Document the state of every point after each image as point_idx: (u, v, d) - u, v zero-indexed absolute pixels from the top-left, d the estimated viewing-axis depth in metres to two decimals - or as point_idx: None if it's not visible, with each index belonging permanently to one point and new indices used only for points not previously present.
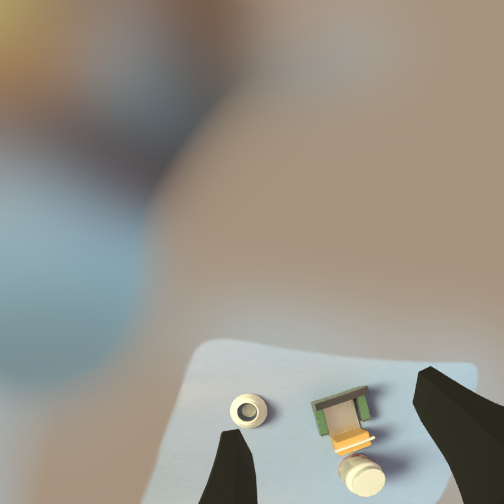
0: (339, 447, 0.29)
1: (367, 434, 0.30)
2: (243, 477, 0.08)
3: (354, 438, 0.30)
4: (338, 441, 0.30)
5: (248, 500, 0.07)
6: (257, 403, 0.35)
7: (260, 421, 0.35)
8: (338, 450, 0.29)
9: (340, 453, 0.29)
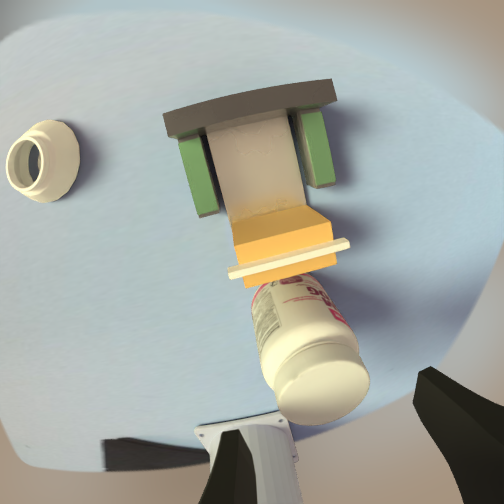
0: (242, 261, 0.12)
1: (328, 230, 0.12)
2: (243, 477, 0.08)
3: (288, 239, 0.12)
4: (240, 241, 0.13)
5: (248, 500, 0.07)
6: (47, 137, 0.12)
7: (60, 182, 0.14)
8: (238, 273, 0.12)
9: (246, 280, 0.13)
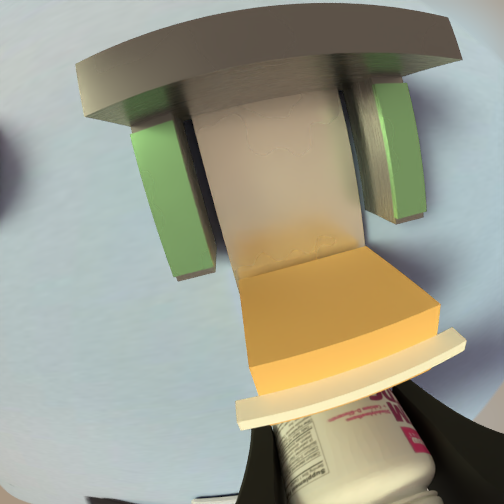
0: (266, 392, 0.05)
1: (433, 320, 0.05)
2: (277, 471, 0.08)
3: (363, 346, 0.05)
4: (262, 349, 0.06)
5: (282, 494, 0.07)
6: None
7: None
8: (257, 420, 0.05)
9: None
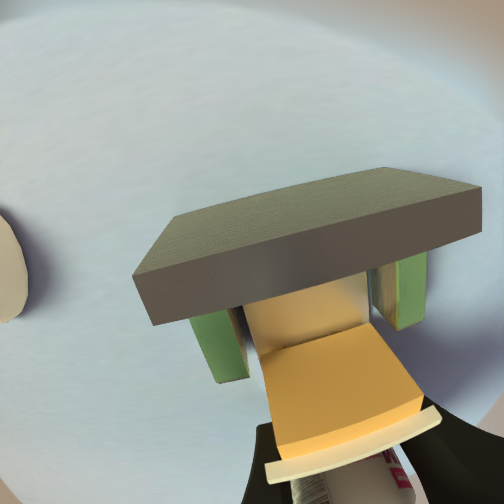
0: (288, 458, 0.07)
1: (417, 404, 0.06)
2: None
3: (361, 426, 0.06)
4: (285, 430, 0.07)
5: (287, 493, 0.07)
6: None
7: (6, 309, 0.08)
8: (282, 478, 0.06)
9: None
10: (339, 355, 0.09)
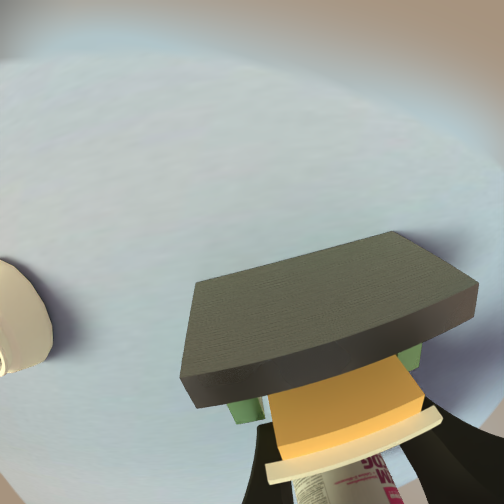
0: (288, 458, 0.07)
1: (417, 405, 0.06)
2: None
3: (363, 427, 0.06)
4: (286, 431, 0.07)
5: (288, 493, 0.07)
6: None
7: (33, 359, 0.09)
8: (282, 479, 0.06)
9: None
10: None
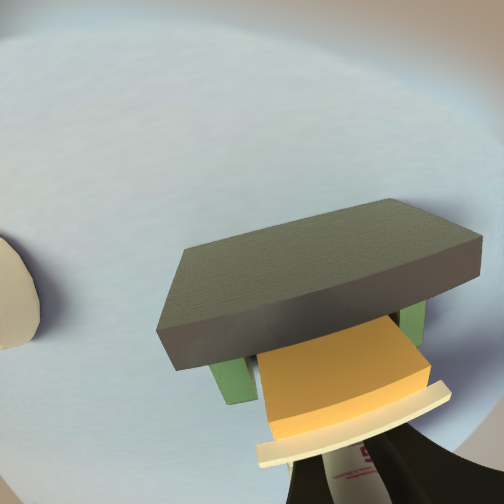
0: (281, 438, 0.06)
1: (423, 378, 0.06)
2: None
3: (363, 402, 0.06)
4: (278, 405, 0.06)
5: None
6: None
7: (19, 336, 0.08)
8: (274, 461, 0.06)
9: None
10: None
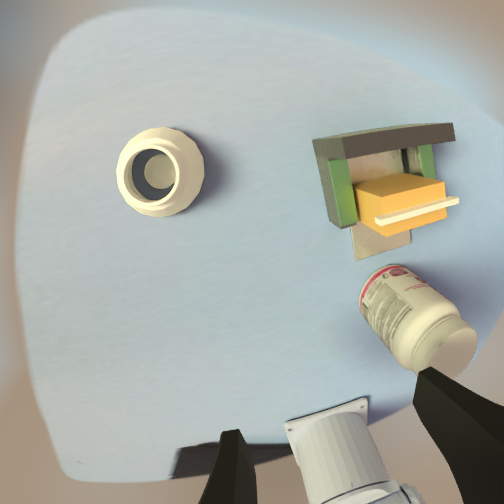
0: (386, 211, 0.13)
1: (442, 189, 0.13)
2: (243, 477, 0.08)
3: (418, 194, 0.13)
4: (381, 194, 0.13)
5: (248, 500, 0.07)
6: (176, 148, 0.14)
7: (187, 197, 0.15)
8: (387, 220, 0.13)
9: (386, 229, 0.13)
10: (394, 179, 0.15)
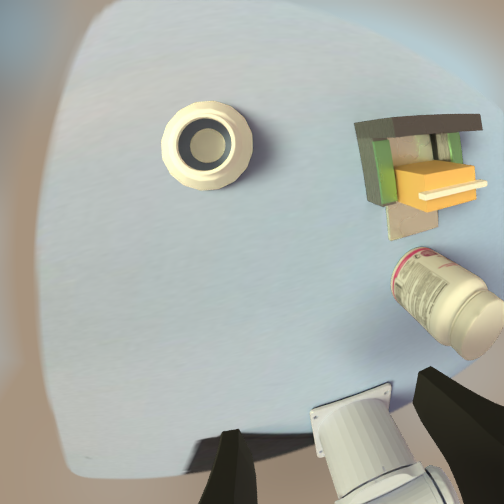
0: (428, 188, 0.13)
1: (473, 172, 0.13)
2: (243, 477, 0.08)
3: (454, 175, 0.13)
4: (423, 173, 0.13)
5: (248, 500, 0.07)
6: (230, 120, 0.14)
7: (237, 170, 0.15)
8: (430, 195, 0.13)
9: (427, 205, 0.13)
10: (427, 164, 0.15)
